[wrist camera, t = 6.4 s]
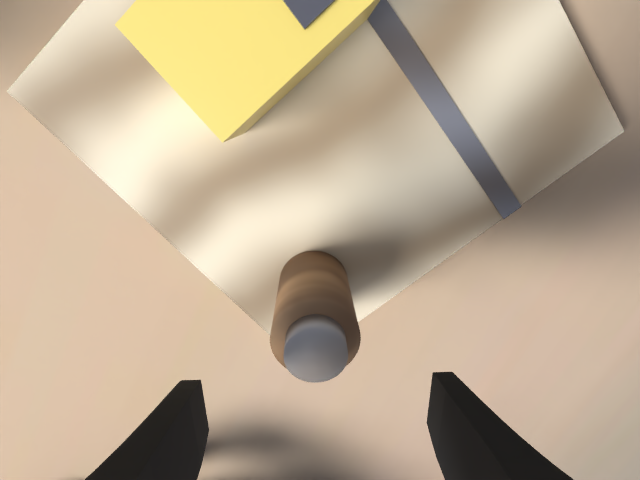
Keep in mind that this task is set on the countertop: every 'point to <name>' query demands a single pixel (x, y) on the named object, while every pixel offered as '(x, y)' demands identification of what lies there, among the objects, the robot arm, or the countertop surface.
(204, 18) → the block
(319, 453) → the countertop surface
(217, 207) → the cream striped towel
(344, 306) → the bottle
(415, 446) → the countertop surface
